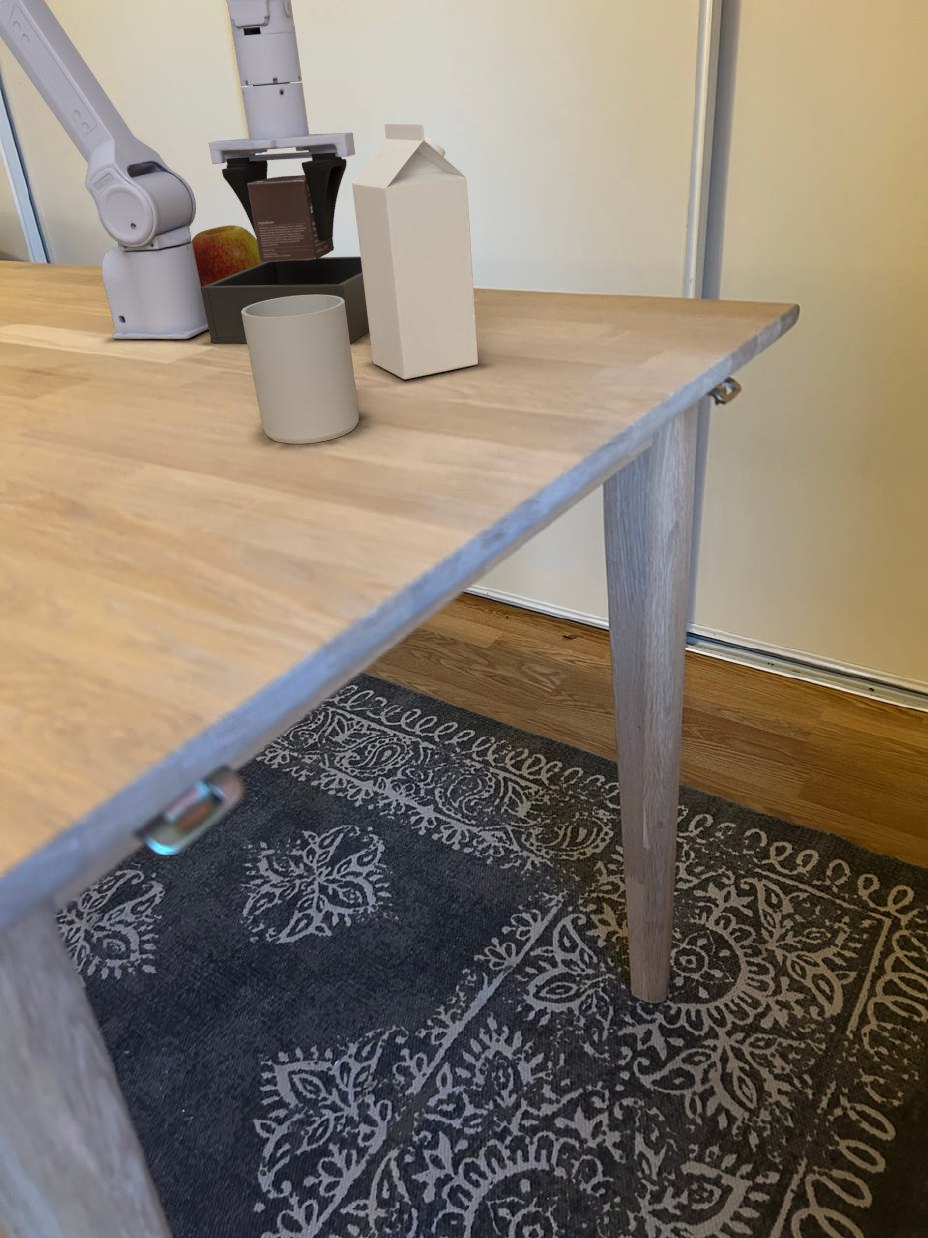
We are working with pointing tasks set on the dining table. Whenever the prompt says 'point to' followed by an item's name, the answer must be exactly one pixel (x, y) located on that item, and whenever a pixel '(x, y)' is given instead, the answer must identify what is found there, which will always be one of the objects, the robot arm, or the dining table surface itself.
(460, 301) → the milk carton
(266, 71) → the robot arm
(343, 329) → the cup
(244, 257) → the fruit
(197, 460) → the dining table surface
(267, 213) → the box
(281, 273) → the dark grey square container
